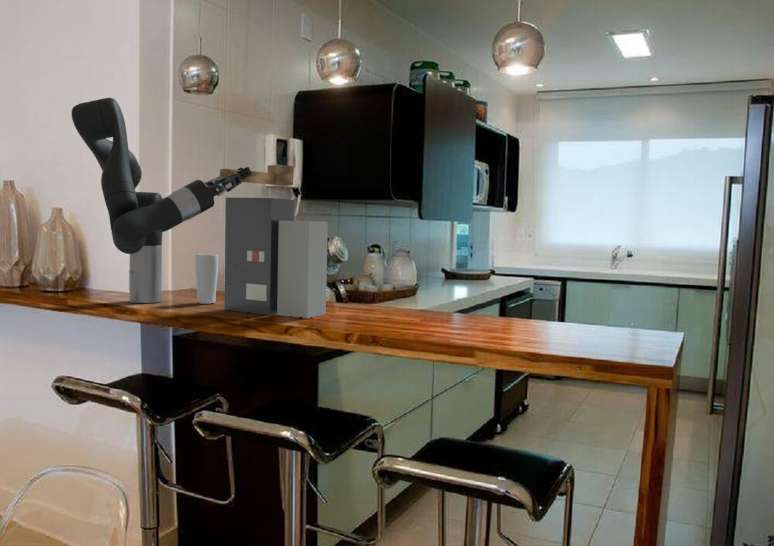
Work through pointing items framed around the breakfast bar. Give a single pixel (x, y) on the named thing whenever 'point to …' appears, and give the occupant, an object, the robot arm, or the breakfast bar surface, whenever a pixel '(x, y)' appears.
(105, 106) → the robot arm
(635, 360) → the breakfast bar surface
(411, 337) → the breakfast bar surface
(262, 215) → the switch cabinet
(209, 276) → the drinking glass
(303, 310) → the grey tall block
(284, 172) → the oak bar
